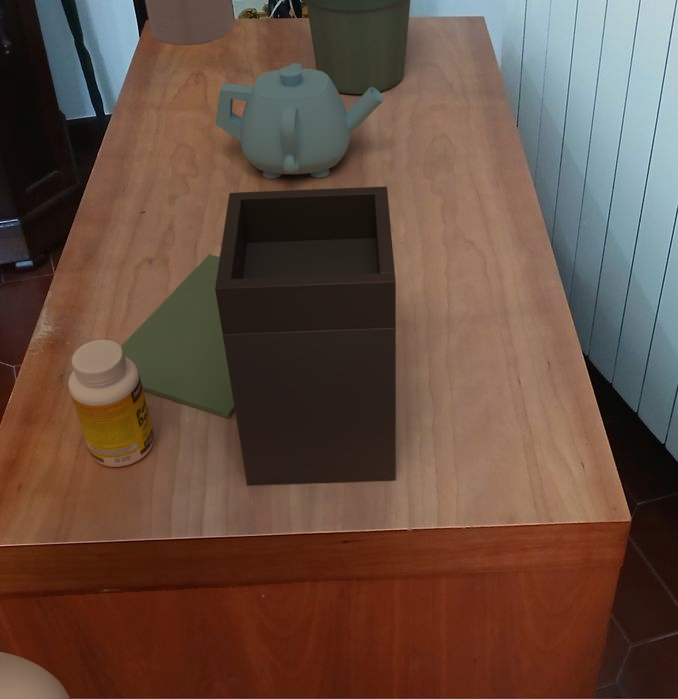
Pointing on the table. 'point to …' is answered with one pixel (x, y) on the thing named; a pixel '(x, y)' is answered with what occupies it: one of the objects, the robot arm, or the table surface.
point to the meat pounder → (189, 20)
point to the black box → (311, 333)
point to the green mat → (186, 346)
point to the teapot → (293, 120)
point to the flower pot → (360, 42)
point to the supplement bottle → (110, 404)
